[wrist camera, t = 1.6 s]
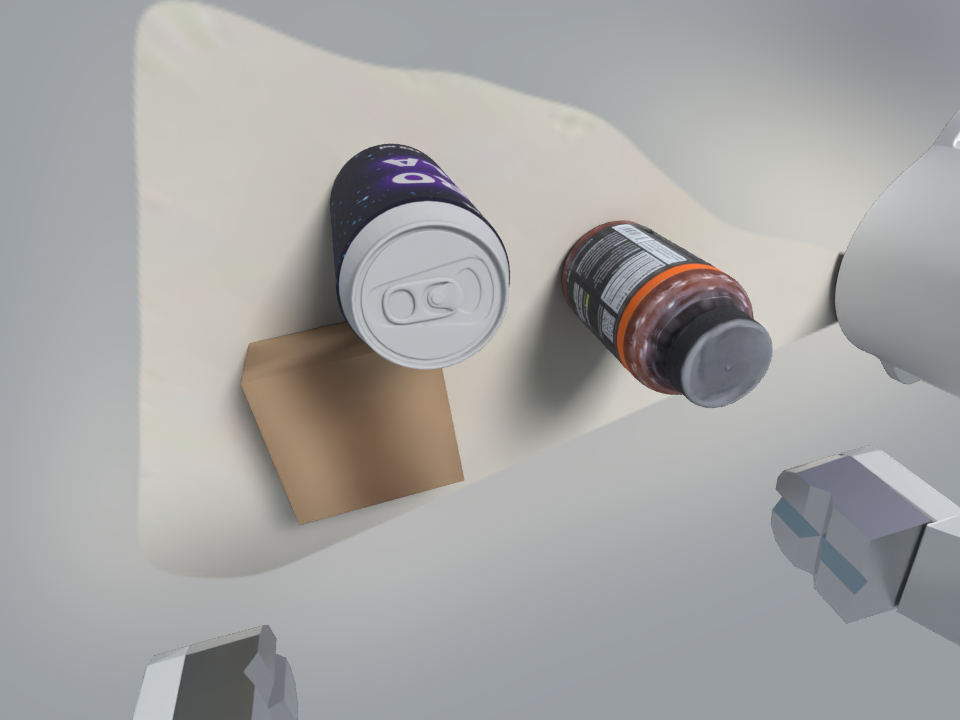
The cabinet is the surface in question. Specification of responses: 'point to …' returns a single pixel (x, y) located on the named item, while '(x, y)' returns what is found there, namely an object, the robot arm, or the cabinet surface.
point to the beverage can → (414, 260)
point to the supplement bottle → (666, 314)
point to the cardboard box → (348, 422)
